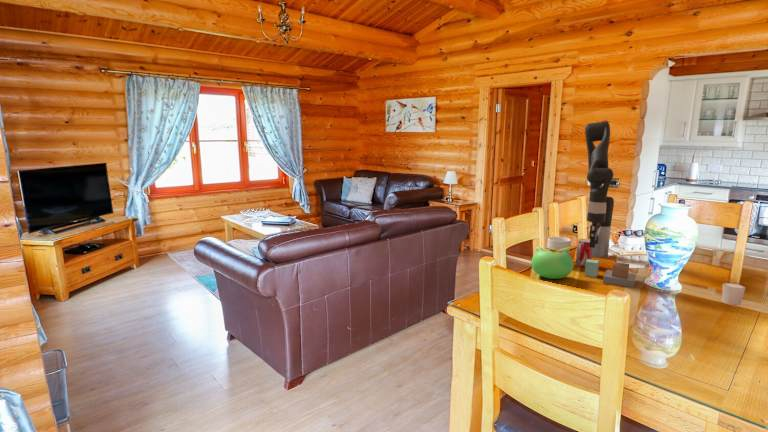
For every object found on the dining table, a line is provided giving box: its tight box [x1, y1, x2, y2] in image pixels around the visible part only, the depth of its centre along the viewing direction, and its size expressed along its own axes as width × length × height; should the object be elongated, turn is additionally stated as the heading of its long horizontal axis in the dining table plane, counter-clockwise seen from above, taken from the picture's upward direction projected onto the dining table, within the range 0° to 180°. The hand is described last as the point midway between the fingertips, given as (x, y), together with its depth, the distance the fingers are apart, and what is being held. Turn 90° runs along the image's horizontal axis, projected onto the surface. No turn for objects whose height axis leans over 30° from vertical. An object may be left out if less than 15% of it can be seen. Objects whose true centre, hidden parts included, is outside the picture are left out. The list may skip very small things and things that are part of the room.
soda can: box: [575, 238, 593, 268], centre depth 213 cm, size 7×7×13 cm
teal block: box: [584, 259, 600, 278], centre depth 197 cm, size 5×5×7 cm
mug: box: [546, 236, 572, 255], centre depth 218 cm, size 15×11×13 cm
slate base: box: [602, 269, 637, 289], centre depth 188 cm, size 12×12×3 cm
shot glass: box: [721, 282, 746, 306], centre depth 163 cm, size 7×7×7 cm
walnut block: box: [611, 261, 630, 278], centre depth 188 cm, size 6×6×5 cm
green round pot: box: [530, 246, 574, 280], centre depth 193 cm, size 18×17×15 cm
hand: (593, 245), depth 195 cm, fingers open, 8 cm apart
